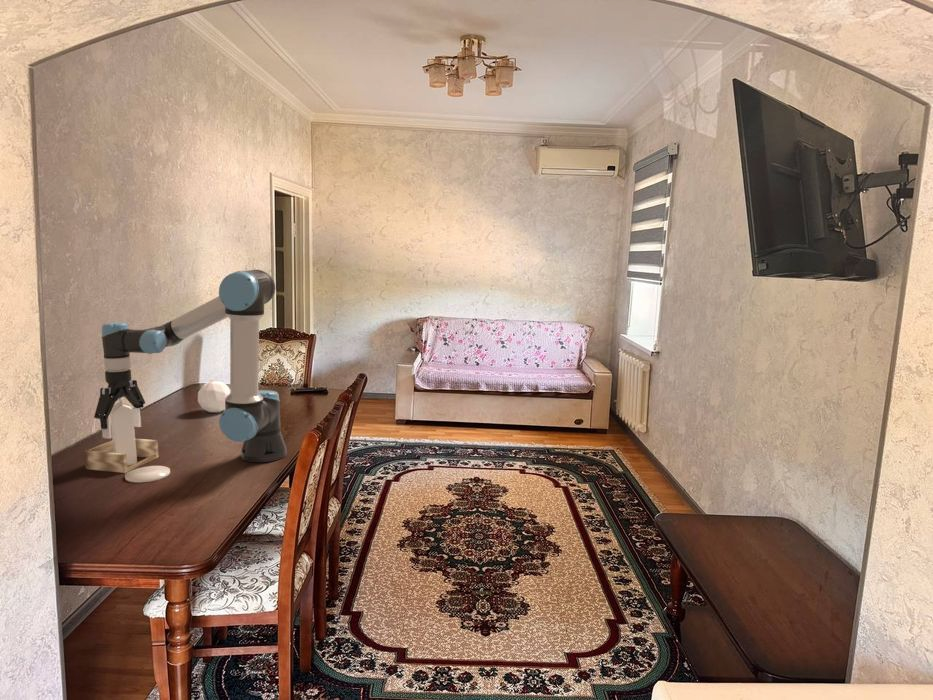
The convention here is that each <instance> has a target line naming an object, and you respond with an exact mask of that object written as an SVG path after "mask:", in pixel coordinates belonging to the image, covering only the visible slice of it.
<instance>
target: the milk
mask: <svg viewBox="0 0 933 700" xmlns="http://www.w3.org/2000/svg"><path fill="white" fill-rule="evenodd" d="M132 408H133V407H131V406H130V405H129V404H126V403H124V402H123V400H122V399H121V398H118V402H116V404H114V406H113V408H112V410H111V412H110V414H109V416H110V417H109V419H110V424H111V436H112V438H111V439H112V440H111V441H113V452H114V453H122V454H126V456H127V466H131V465H133V464H135V463H137V462H138V458H137V457H138V456H137V455H136V443H135V438H136V434H135V433H136V432H135V427H134V418H133V409H132Z"/></svg>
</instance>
